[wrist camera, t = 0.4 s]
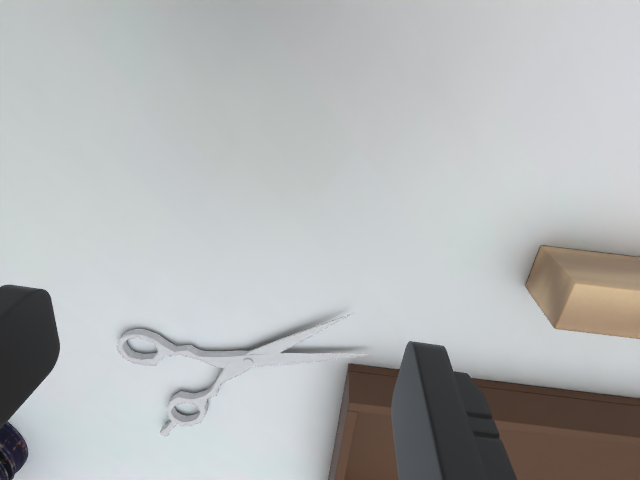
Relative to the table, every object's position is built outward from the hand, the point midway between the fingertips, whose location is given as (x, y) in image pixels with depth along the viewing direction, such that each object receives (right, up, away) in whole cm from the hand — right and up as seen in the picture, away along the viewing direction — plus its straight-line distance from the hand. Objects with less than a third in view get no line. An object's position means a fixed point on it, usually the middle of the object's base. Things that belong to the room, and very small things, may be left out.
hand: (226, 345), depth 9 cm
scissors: (-4, -7, +23) cm, 24 cm away
